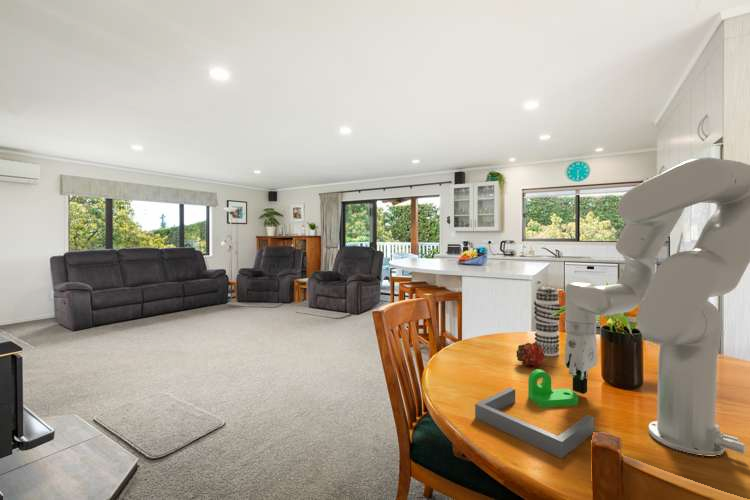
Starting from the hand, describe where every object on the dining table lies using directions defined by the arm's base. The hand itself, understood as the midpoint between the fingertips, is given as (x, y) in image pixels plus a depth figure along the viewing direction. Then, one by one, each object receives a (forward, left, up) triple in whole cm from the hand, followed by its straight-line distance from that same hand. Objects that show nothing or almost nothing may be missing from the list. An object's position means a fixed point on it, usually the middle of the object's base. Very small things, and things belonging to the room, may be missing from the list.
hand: (579, 391), depth 101 cm
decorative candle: (+24, -29, -1) cm, 38 cm away
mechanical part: (+3, +9, -2) cm, 9 cm away
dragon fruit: (+21, -12, -1) cm, 24 cm away
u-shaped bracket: (0, +25, -1) cm, 25 cm away
